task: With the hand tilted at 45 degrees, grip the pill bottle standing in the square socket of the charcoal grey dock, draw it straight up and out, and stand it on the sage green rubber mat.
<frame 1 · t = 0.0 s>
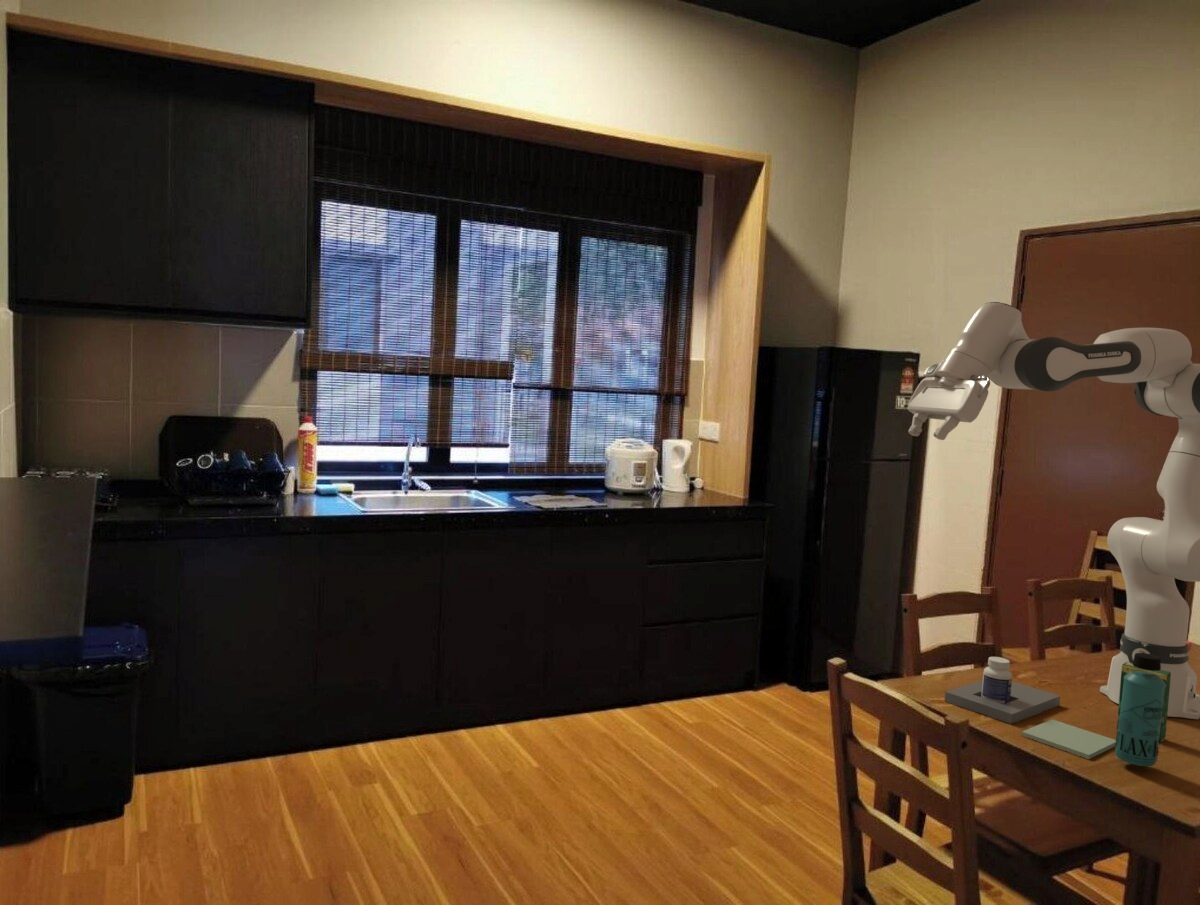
hand: (925, 436, 174), 54 cm above the table, tool tilted 30°, fingers open, 8 cm apart
coffee box: (1139, 735, 171), on the table
beverage bottle: (1134, 768, 155), on the table
pill bottle: (994, 707, 182), resting in dock
dock: (1002, 703, 184), on the table
mat: (1069, 740, 166), on the table
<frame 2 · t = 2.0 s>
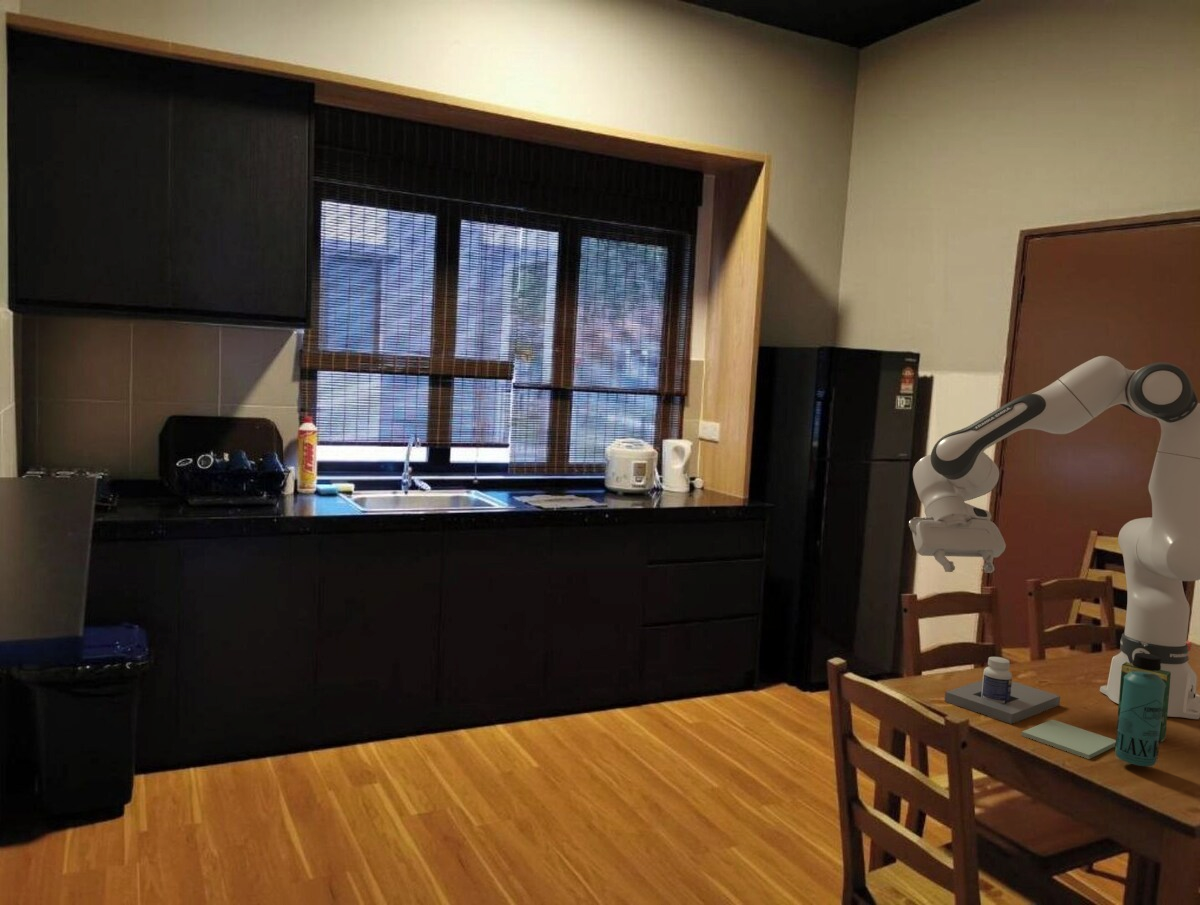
hand: (970, 571, 192), 25 cm above the table, tool tilted 45°, fingers open, 8 cm apart
nothing on the table moved.
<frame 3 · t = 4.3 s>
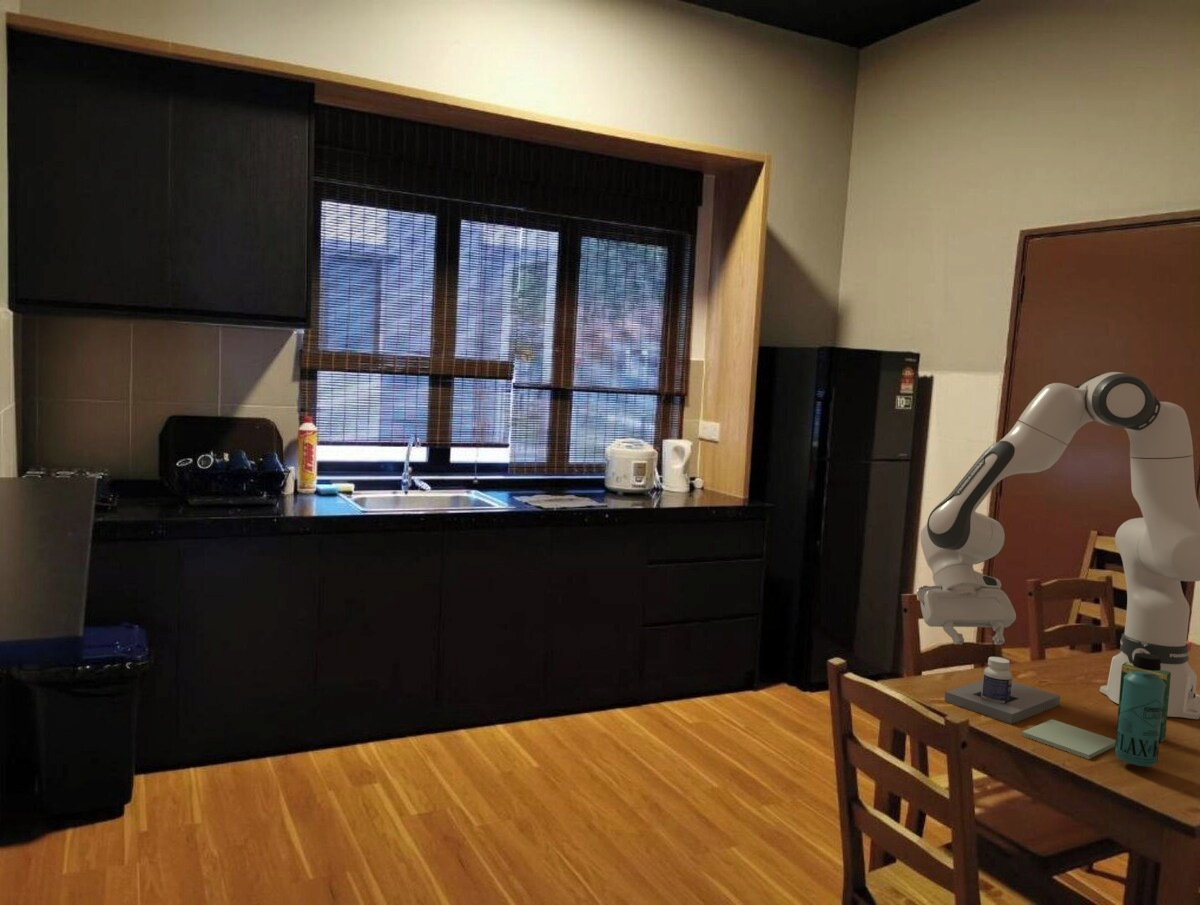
hand: (980, 643, 188), 11 cm above the table, tool tilted 45°, fingers open, 8 cm apart
nothing on the table moved.
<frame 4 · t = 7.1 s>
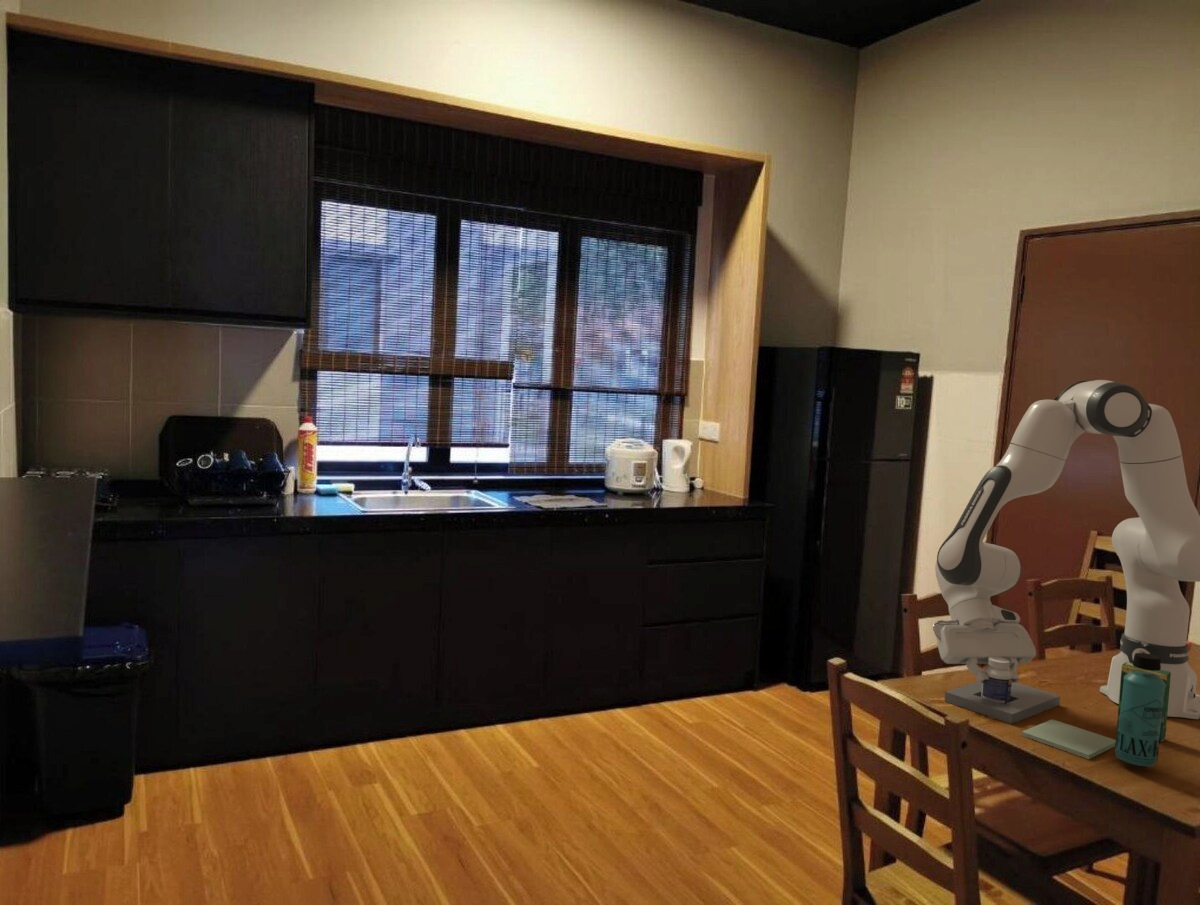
hand: (999, 681, 181), 5 cm above the table, tool tilted 45°, fingers closed on pill bottle, 5 cm apart
pill bottle: (994, 706, 182), resting in dock, touching gripper
everything else where it was.
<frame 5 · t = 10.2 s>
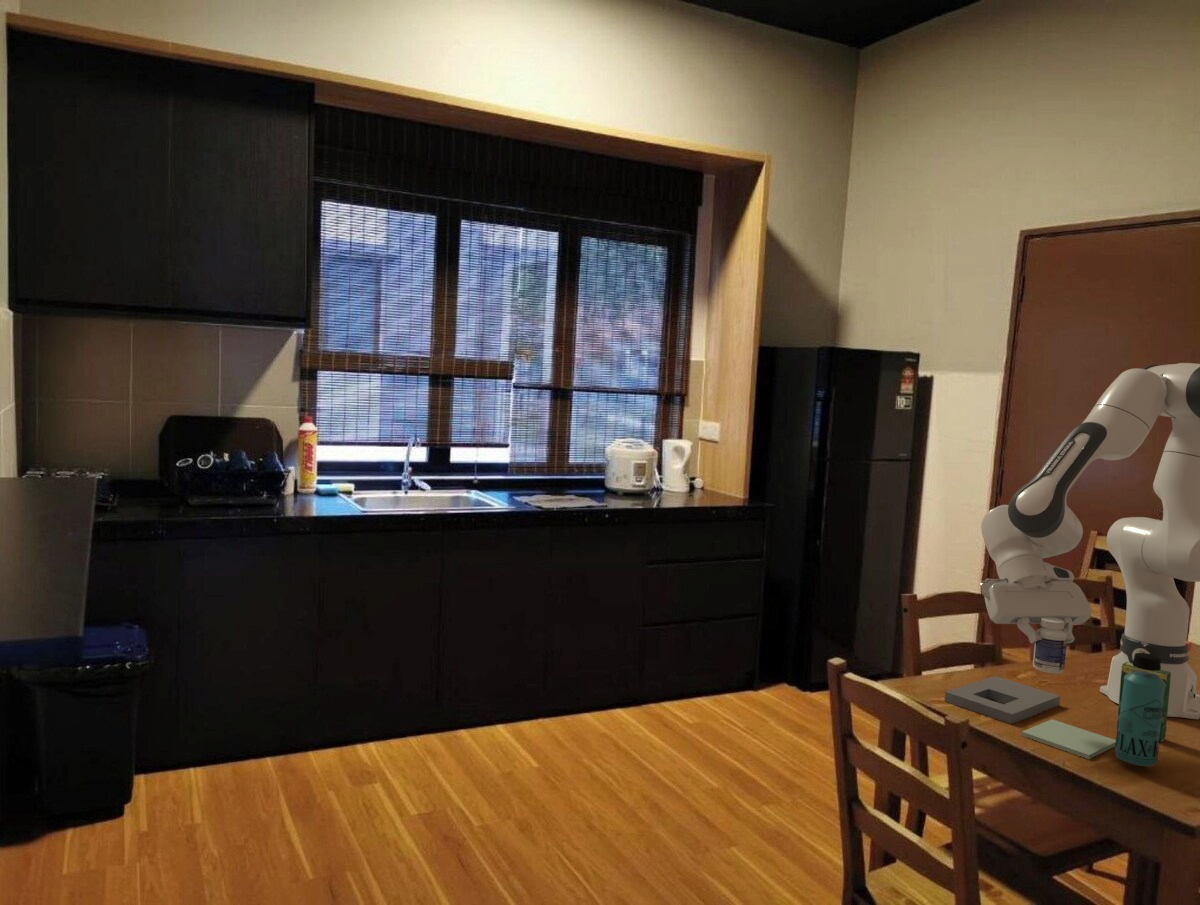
hand: (1053, 642, 169), 17 cm above the table, tool tilted 45°, fingers closed on pill bottle, 5 cm apart
pill bottle: (1048, 670, 170), point 11 cm above the table, touching gripper
everything else where it was.
when the fingers open (8 cm above the table, at t = 13.8 s): pill bottle drops 1 cm, resting on mat.
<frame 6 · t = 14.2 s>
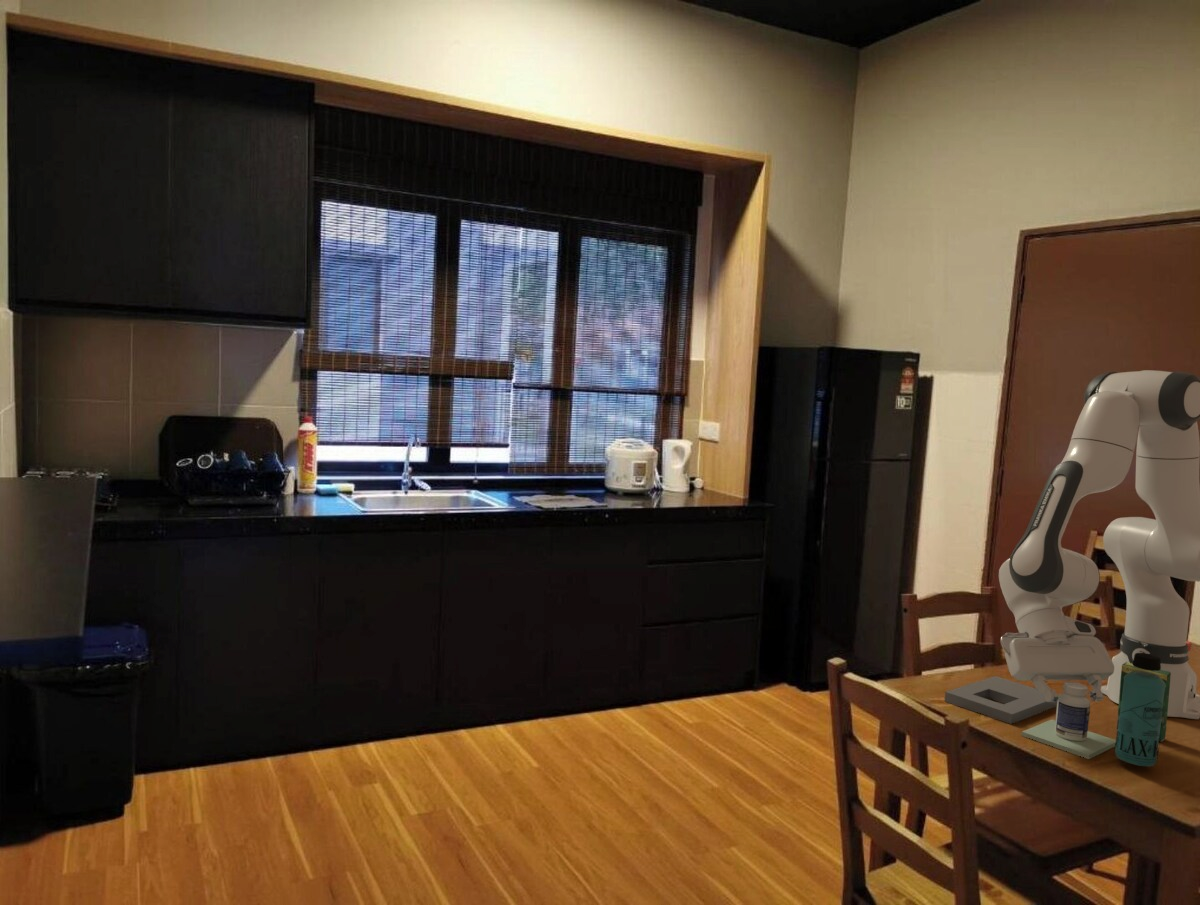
hand: (1075, 700, 164), 8 cm above the table, tool tilted 45°, fingers open, 8 cm apart
pill bottle: (1070, 737, 166), point 1 cm above the table, touching mat
everything else where it was.
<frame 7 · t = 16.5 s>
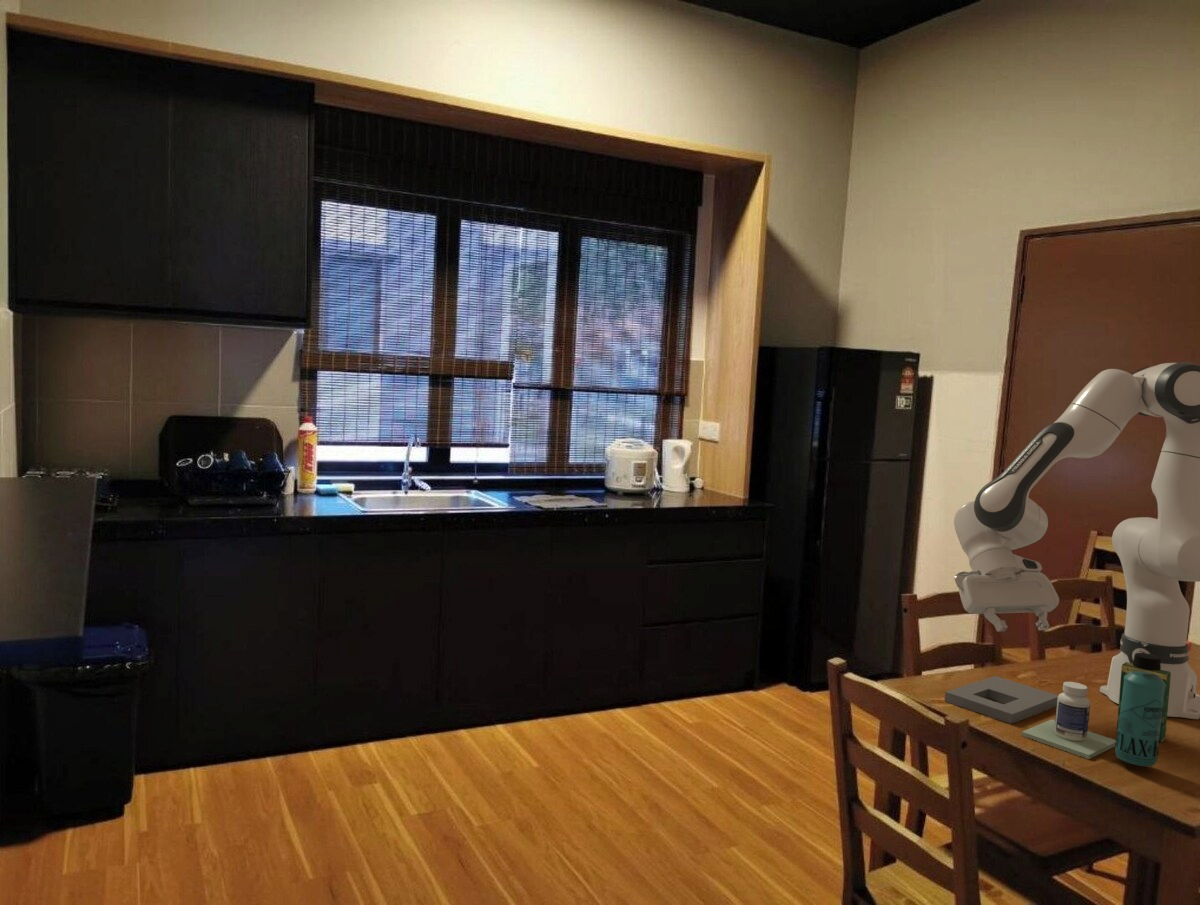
hand: (1023, 629, 179), 17 cm above the table, tool tilted 45°, fingers open, 8 cm apart
nothing on the table moved.
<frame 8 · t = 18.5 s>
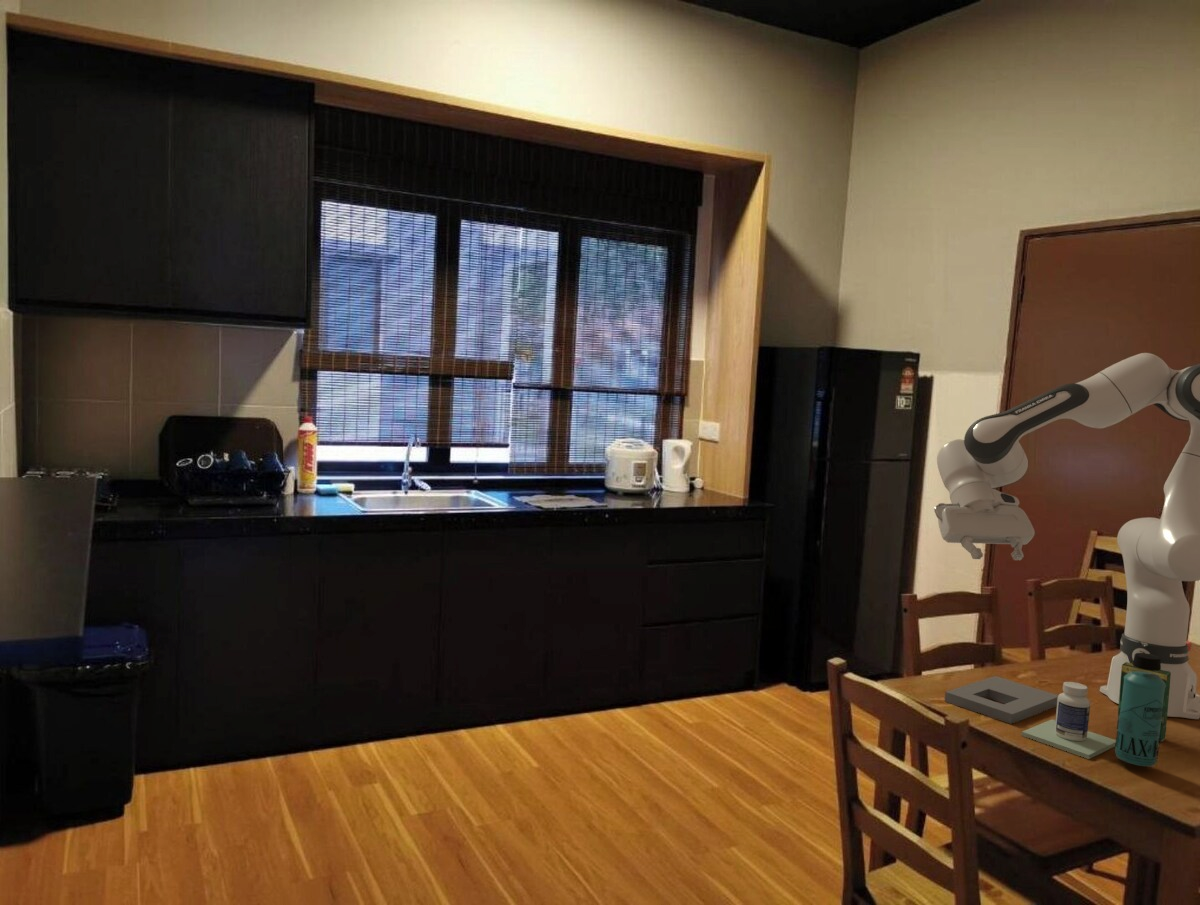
hand: (998, 558, 186), 29 cm above the table, tool tilted 45°, fingers open, 8 cm apart
nothing on the table moved.
at the end: pill bottle inside the target area on the mat (0.1 cm from its centre), point 0.6 cm above the mat's base; pill bottle tilted 0°; the gripper is holding nothing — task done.
